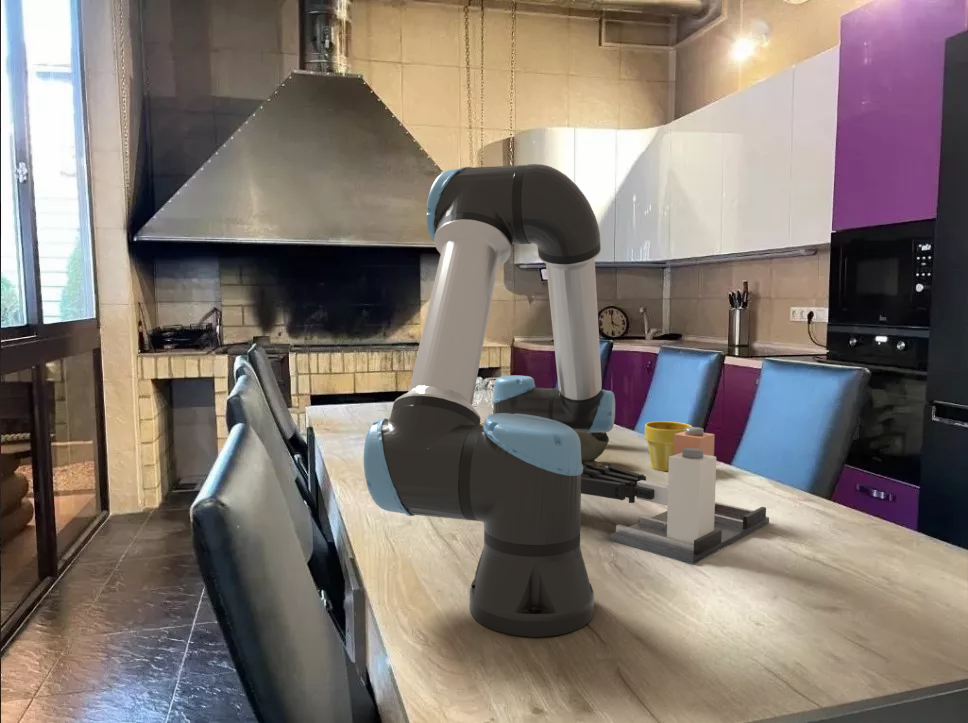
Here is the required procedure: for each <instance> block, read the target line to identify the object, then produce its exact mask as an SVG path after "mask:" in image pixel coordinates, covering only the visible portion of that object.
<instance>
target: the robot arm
mask: <svg viewBox="0 0 968 723" xmlns="http://www.w3.org/2000/svg"><path fill="white" fill-rule="evenodd" d="M588 200H589V199H587V196H586V195H585V194H584V193H583V191H582V190H581V189H580V187H578V185H577V184H576V183H575V182H574V181H573V180H572V179H571V178H570V177H568V175H566V174H565V173H563V172H561V171H560V170H558V169H556V168H554V167H553V166H549V165H545V164H537V163H529V164H523V165H521V164H520V165H503V166H502V165H501V166H500V165H499V166H498V165H497V166H480V167H479V166H477V167H472V166H464V167H463V166H462V167H460V168H455V169H454V168H453V169H448V170H445V171H443V172H442V173H439V175H438V176H437V177H436V178H435V180H434V181H433V183H432V185H431V187H430V190H429V194H428V197H427V201H426V208H427V213H426V215H425V217H426V228H427V231H428V234H429V236H430V238H431V240H432V241H433V243H434V246H435V249H436V250H437V252H439V254H440V256H439V260H438V264H437V269H436V273H435V278H434V281H433V286H432V290H431V295H430V298H429V299H430V300H429V303H428V306H427V307H428V308H427V312H426V317H425V320H424V325H423V329H422V333H421V337H420V342H419V346H418V348H417V350H418V351H417V355H416V357H415V358H416V359H415V362H414V367H413V372H412V375H411V379H410V383H409V387H408V392H406V393H403V394H402V395H401V396H399V397H397V398H396V399H395V400H394V402H393V404H392V409H391V413H390V416H389V419H388V418H385V417H383V418H381V419H377V420H375V421H374V422H372V425H370V427H369V428H368V431H367V433H366V437H365V441H364V448H363V471H364V472H363V473H364V478H365V483H366V487H367V490H368V493H369V494H370V497H371V500H372V501H373V502H374V503H375V504H376V505H377V506H378V508H380V509H382V510H384V511H386V512H391V513H397V514H403V515H404V514H405V515H406V516H409V517H414V516H423V517H433V518H443V519H444V518H445V519H453V520H454V519H456V520H463V521H474V522H482V523H483V548H482V551H481V555H480V558H479V560H478V563H477V566H476V570H475V574H474V579H473V580H472V581H471V584H470V588H469V611H470V614H471V615H472V617H473V618H474V619H475V620H476V621H478V623H480V624H481V625H483V626H485V627H486V628H489V629H491V630H493V631H496V632H500V633H504V634H507V635H513V636H517V637H518V636H520V637H528V638H529V637H530V638H531V637H532V638H534V637H535V638H536V637H537V638H538V637H539V638H540V637H555V636H559V635H564V634H567V633H572V632H575V631H577V630H579V629H581V628H583V627H584V626H586V625H587V624H588V623H589V622H591V620H592V618H594V613H595V592H594V589H593V587H592V584H591V583H590V579H589V575H588V572H587V568H586V563H585V559H584V557H583V554H582V549H581V515H582V514H581V512H582V511H581V510H582V509H581V508H582V506H581V505H582V495H588V496H594V497H601V498H608V499H614V500H620V501H624V500H626V498H627V499H628V503H629V504H634V503H635V502H636V500H635V499H638V500H642V501H646V502H650V503H655V504H658V505H663V506H667V507H668V484H663V483H658V482H653V481H649V480H647V476H645V475H644V474H643V473H642V474H639V473H636V472H633V471H630V470H626V469H623V468H620V467H617V466H615V465H614V464H611V463H606V464H605V465H604V467H603V466H596V465H595V464H592V463H586V464H584V462H583V460H582V458H581V442H580V438H579V436H578V434H577V433H576V432H575V431H580V432H587V433H590V432H606V433H608V432H611V430H613V428H614V425H615V418H616V398H615V393H614V392H613V391H612V390H605V389H602V384H603V383H602V366H601V348H600V332H599V331H600V330H599V329H600V327H599V313H598V298H597V277H596V276H597V275H596V262H595V261H596V260H595V259H596V258H597V257H598V256H599V255H600V254H601V251H602V250H601V233H600V228H599V223H598V220H597V217H596V215H595V213H594V210H593V207H592V206H591V204H590V202H589V201H588ZM530 244H535V246H537V254H538V258H539V259H540V261H541V262H542V263H544V264H545V266H546V276H547V277H546V278H547V287H548V296H549V305H550V307H549V308H550V314H551V316H550V317H551V318H550V319H551V326H552V327H551V329H552V336H553V345H554V347H553V348H554V354H555V355H554V356H555V366H556V376H557V385H558V388H550V387H547V388H546V387H537V386H536V384H535V379H534V378H533V377H531V376H528V375H518V374H517V375H512V374H511V375H502V376H499V377H497V378H496V379H495V381H494V382H493V384H494V386H493V400H492V404H493V405H492V406H493V413H492V414H489V415H487V416H486V417H485V419H484V421H483V423H482V425H481V416H480V414H479V413H478V411H477V410H476V409H475V407H474V406H473V400H474V395H475V390H476V384H477V379H478V373H479V368H480V363H481V359H482V352H483V348H484V342H485V338H486V331H487V326H488V321H489V314H490V310H491V304H492V299H493V294H494V288H495V283H496V279H497V278H496V277H497V273H498V268H499V267H500V266H502V265H504V264H505V263H506V262H508V260H509V259H510V257H511V253H512V250H513V249H512V247H513V245H530ZM635 497H636V498H635Z"/></svg>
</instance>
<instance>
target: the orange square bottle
mask: <svg viewBox="0 0 968 723" xmlns="http://www.w3.org/2000/svg"><path fill="white" fill-rule="evenodd" d="M715 435H716V434H715V433H709V432H704V428H703V427H697V426H692V427H686V428H685V431H684V432H680V433H677V434H674V449H673V455H676V454H679V453H682V449H684V448H698V449H702V450H703V454H704V455H709V456H715Z"/></svg>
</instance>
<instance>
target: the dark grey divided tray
mask: <svg viewBox="0 0 968 723" xmlns="http://www.w3.org/2000/svg"><path fill="white" fill-rule="evenodd" d="M667 512H668V510H666V511H663V512H662V513H658V514H656V515H654V516H651V517H647V516H643V515H640V516H638V520H637V521H638V522H637V523H634V524H632V525H629V526H626V525H622V524H617V525H615V532H612V533H610V541H611V542H616V543H619V544H622V545H624V546H625V545H626V546H629V547H632V548H636V549H639V550H643V551H646V552H649V553H653V554H656V555H659V556H663V557H665V558H670V559H674V560H677V561H680V562H684V563H686V564H690V565H695V564H697V563H699V562H700V561H702V560H704V559H705V558H708V557H709V556H711V555H713V554H715V553H717V552H718V551H720V550H723V549H724V548H726V547H727V546H728V547H729V545H732V544H734V543H735V542H737V541H739V540H742V538H744V537H746V536H748V535H750V534H752V533H754V532H756V531H757V530H758V529H761V528H763V527H765V526H767V525H768V524H770V517H769V516H767V507H765V506H761V507H759V508H757V509H755V510H752V509H747V508H742V507H739V506H735V505H728V504H724V503H721V502H716V501H715V514H714V531H712V532H710V533H708V534H706V535H704V536H702V537H700V538H698V539H696V540H694V545H692V544H688V543H685V542H681V541H677V540H674V539H670V538H667Z"/></svg>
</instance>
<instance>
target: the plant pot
mask: <svg viewBox="0 0 968 723" xmlns="http://www.w3.org/2000/svg"><path fill="white" fill-rule="evenodd" d="M686 427H693V426H692V425H691V424H687V423H685V422H684V423H683V422H678V421H669V420H668V421H666V420H661V421H659V420H655V421H654V420H653V421H648V422H646V423H645V425H644V440H646V442H647V446H648V452H649V457H650V463H651V468H652V469H654V470H656V471H661V472H668V473H669V456H673V449H674V434H677V433H680V432H684V431H685V428H686Z"/></svg>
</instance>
